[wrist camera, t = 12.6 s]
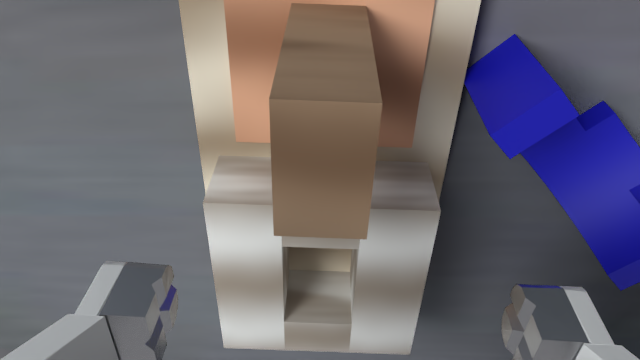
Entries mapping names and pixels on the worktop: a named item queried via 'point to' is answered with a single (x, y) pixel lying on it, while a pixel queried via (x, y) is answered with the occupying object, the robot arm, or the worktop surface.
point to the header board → (388, 186)
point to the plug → (324, 123)
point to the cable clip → (566, 152)
